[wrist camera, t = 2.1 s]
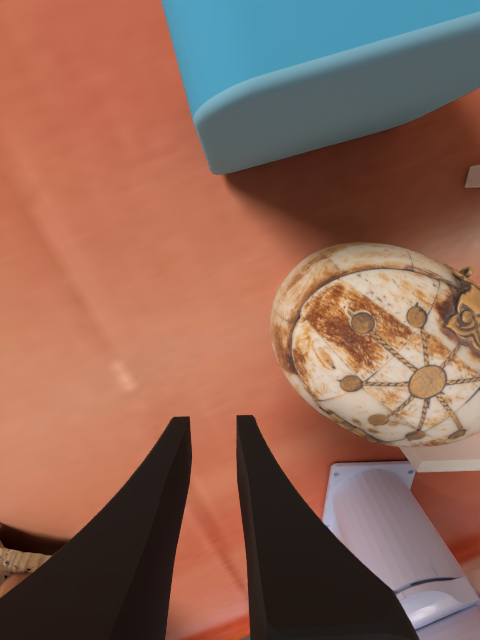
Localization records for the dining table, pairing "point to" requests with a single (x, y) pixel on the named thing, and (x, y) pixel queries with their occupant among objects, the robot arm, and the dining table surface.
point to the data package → (316, 70)
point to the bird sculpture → (21, 561)
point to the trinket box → (382, 343)
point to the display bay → (457, 455)
